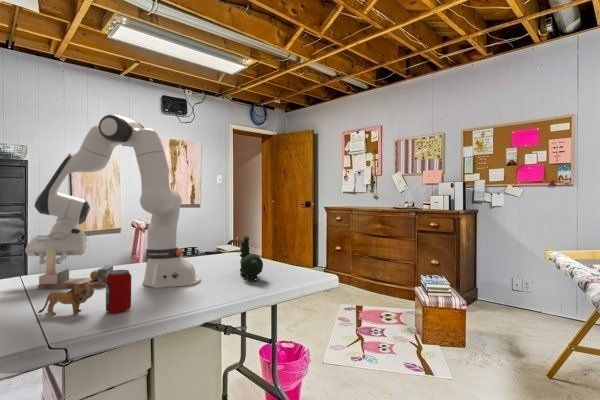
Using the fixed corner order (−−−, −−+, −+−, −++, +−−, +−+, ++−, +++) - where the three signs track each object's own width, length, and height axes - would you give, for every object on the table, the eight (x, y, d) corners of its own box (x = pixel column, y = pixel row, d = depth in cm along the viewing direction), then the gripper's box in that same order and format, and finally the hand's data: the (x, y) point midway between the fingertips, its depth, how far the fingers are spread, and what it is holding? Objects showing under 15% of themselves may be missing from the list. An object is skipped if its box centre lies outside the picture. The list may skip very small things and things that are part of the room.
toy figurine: (234, 276, 156) (244, 284, 133) (234, 236, 158) (244, 236, 135) (254, 275, 160) (267, 282, 136) (254, 235, 161) (266, 236, 138)
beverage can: (112, 307, 104) (112, 269, 104) (134, 307, 105) (135, 269, 105) (101, 314, 97) (101, 273, 98) (125, 314, 98) (125, 273, 98)
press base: (116, 280, 139) (116, 265, 139) (108, 286, 130) (108, 269, 130) (51, 282, 134) (51, 266, 134) (37, 289, 124) (37, 271, 124)
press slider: (69, 278, 135) (70, 246, 135) (59, 283, 127) (60, 249, 127) (49, 279, 133) (50, 247, 133) (38, 284, 125) (39, 249, 125)
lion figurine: (96, 308, 103) (97, 279, 103) (90, 314, 98) (90, 283, 98) (42, 312, 100) (42, 281, 100) (32, 318, 94) (32, 286, 94)
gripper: (30, 230, 134) (15, 259, 125) (87, 230, 139) (76, 257, 129) (36, 240, 139) (22, 268, 129) (91, 239, 143) (81, 267, 133)
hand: (49, 263), depth 129 cm, fingers open, 4 cm apart
